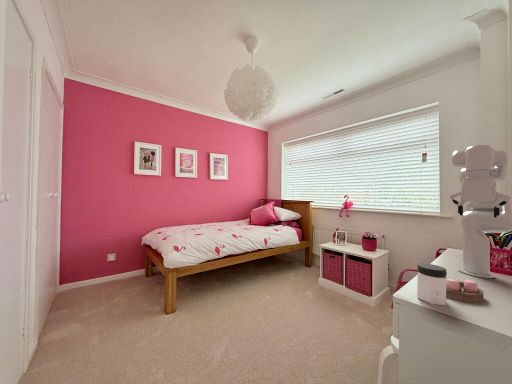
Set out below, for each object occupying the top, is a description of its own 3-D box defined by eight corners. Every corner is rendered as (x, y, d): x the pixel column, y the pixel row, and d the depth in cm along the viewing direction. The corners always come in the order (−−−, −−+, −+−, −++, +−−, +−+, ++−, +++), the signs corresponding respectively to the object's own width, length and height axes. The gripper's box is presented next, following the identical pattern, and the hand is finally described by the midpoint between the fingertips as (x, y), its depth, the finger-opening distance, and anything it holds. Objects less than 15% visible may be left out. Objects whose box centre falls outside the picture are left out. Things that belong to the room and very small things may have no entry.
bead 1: (447, 289, 82) (447, 278, 83) (459, 292, 80) (459, 281, 80) (445, 292, 80) (445, 280, 80) (458, 295, 77) (458, 283, 77)
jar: (424, 303, 73) (425, 269, 73) (411, 293, 81) (411, 262, 81) (453, 306, 72) (454, 271, 72) (436, 295, 80) (437, 264, 80)
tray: (433, 281, 94) (433, 274, 94) (484, 294, 82) (484, 287, 82) (424, 290, 84) (424, 283, 84) (481, 307, 72) (481, 298, 72)
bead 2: (464, 290, 82) (464, 279, 82) (477, 294, 79) (477, 282, 79) (463, 293, 80) (463, 281, 80) (476, 296, 77) (477, 284, 77)
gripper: (510, 175, 83) (510, 218, 82) (451, 177, 96) (450, 214, 96) (511, 173, 78) (510, 219, 78) (448, 175, 91) (448, 214, 91)
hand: (477, 216), depth 87 cm, fingers open, 9 cm apart
